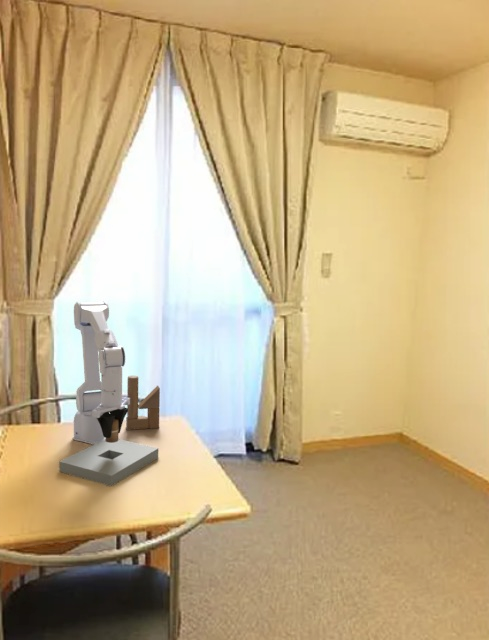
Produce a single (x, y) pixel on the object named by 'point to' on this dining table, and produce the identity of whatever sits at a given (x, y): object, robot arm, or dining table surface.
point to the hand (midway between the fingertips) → (111, 434)
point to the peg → (113, 432)
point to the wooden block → (142, 407)
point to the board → (108, 461)
